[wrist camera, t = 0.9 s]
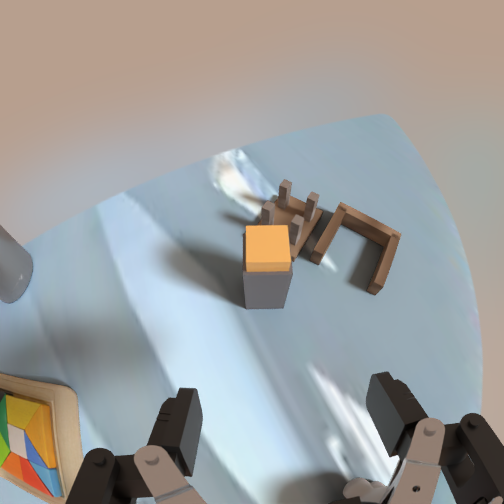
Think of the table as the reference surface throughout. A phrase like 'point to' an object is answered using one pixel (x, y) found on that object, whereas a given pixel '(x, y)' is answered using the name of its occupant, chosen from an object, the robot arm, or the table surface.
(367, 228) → the end holder
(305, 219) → the four-pronged plate
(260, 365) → the table surface
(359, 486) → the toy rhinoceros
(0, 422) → the wooden puzzle
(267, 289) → the grey orange block
